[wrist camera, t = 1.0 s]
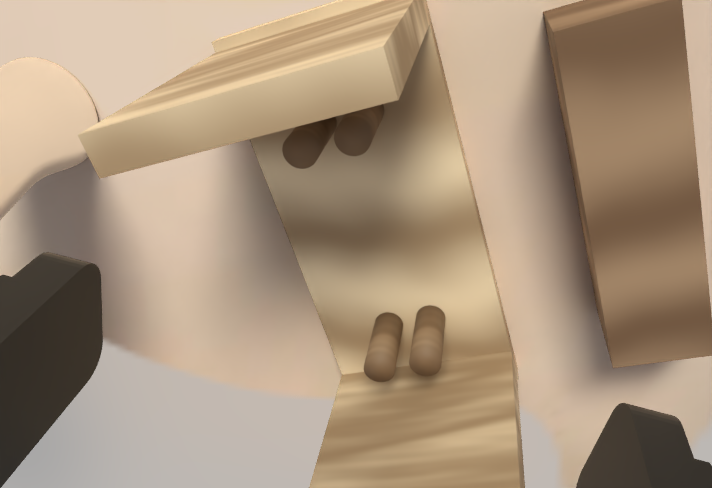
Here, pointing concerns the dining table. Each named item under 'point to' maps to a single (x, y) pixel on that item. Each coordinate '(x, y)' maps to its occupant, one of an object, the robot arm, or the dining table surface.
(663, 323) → the shelf board
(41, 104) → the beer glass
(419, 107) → the peg jig
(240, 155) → the dining table surface
